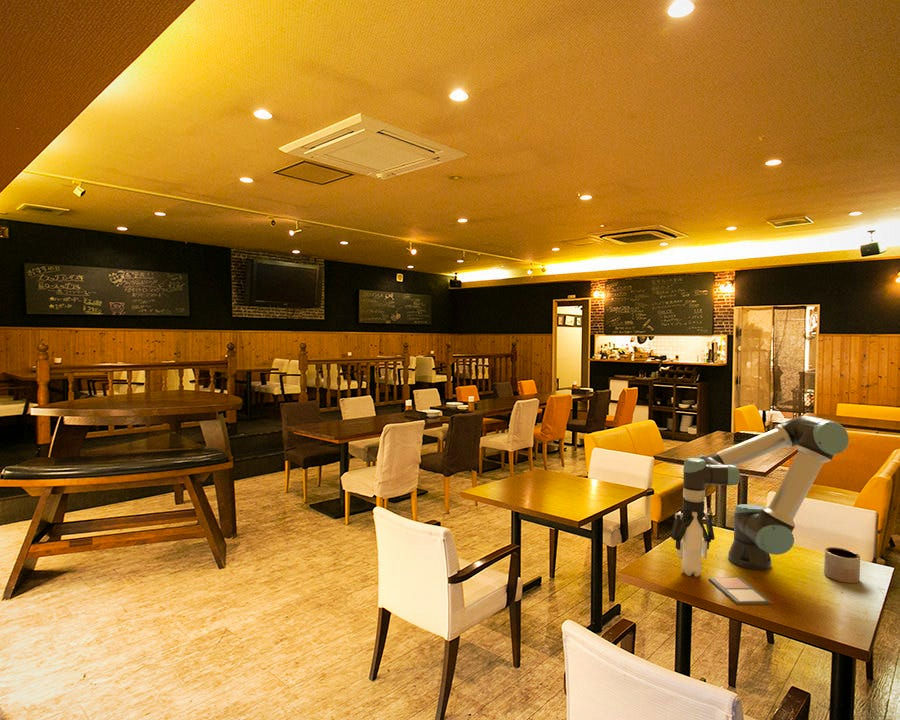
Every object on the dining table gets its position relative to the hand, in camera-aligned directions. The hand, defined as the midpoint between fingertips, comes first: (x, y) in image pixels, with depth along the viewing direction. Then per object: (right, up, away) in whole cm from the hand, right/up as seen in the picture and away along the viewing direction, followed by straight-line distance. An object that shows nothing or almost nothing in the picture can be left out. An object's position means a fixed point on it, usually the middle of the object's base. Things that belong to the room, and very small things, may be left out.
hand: (691, 557), depth 199 cm
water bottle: (0, -7, 0) cm, 7 cm away
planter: (+56, -7, -2) cm, 57 cm away
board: (+10, -7, -13) cm, 18 cm away
